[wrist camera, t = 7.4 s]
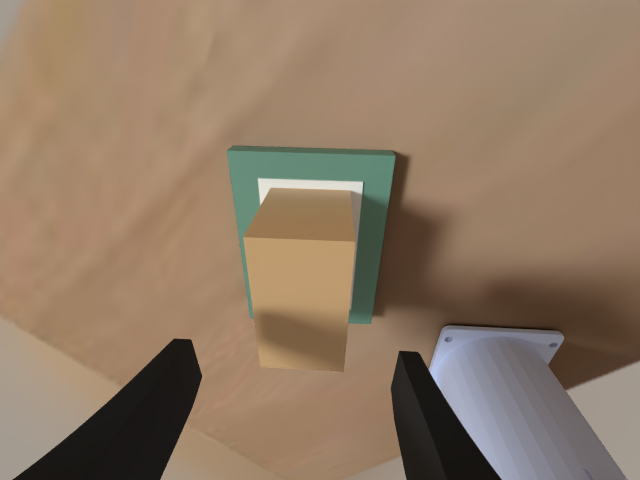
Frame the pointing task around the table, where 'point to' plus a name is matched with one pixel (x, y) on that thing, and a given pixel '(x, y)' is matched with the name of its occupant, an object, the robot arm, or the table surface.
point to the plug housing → (301, 277)
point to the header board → (321, 173)
